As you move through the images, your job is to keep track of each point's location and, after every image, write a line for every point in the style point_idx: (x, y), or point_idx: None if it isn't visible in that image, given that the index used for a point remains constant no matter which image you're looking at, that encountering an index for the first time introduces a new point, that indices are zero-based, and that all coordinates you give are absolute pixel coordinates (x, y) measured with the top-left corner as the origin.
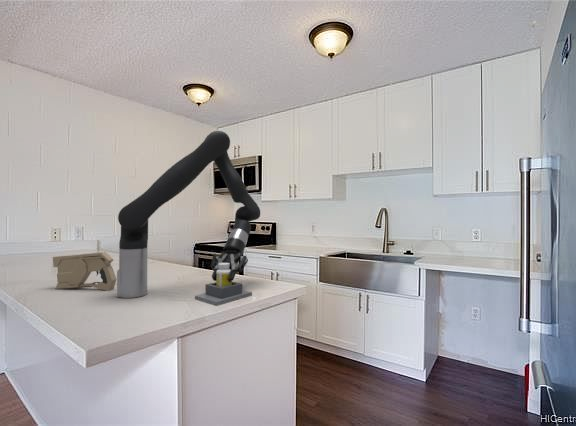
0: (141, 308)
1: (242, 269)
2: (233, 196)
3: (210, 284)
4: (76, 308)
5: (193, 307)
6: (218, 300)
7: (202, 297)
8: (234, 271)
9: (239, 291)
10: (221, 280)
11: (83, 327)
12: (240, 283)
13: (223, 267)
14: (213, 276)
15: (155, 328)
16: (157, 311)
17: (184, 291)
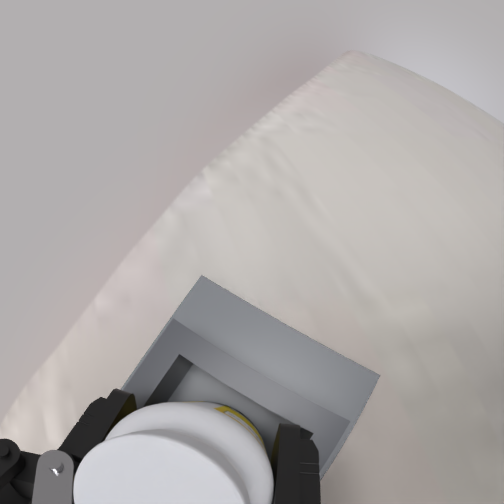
0: (475, 215)
1: (7, 484)
2: None
3: (311, 431)
4: None
5: (307, 246)
6: (199, 303)
7: (318, 349)
8: (59, 448)
9: None
10: (196, 402)
11: (454, 106)
12: None
13: (145, 430)
14: (289, 429)
15: (310, 92)
16: (409, 191)
17: (477, 479)
